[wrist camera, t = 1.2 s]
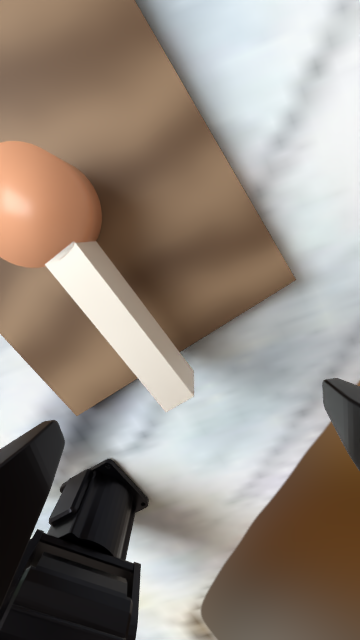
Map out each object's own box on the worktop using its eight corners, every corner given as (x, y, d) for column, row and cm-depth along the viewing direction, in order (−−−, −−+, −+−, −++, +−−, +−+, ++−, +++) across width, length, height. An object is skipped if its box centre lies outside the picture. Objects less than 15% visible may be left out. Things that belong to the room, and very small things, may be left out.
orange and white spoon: (-14, 200, 16) (-59, 193, 13) (56, 134, 15) (23, 111, 12) (149, 397, 19) (142, 426, 16) (216, 357, 18) (220, 381, 15)
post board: (288, 276, 20) (305, 284, 17) (83, 405, 24) (67, 430, 21) (69, -100, 14) (36, -190, 11) (-147, 152, 19) (-213, 136, 15)
